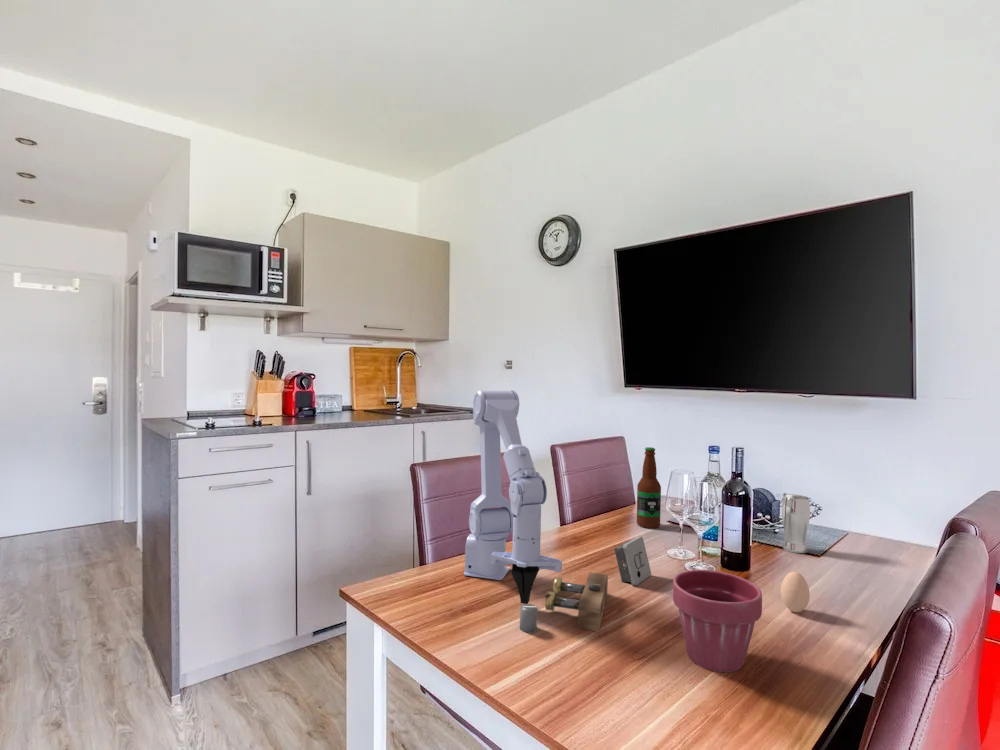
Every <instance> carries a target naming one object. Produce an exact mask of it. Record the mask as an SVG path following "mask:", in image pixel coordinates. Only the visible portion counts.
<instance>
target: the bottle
mask: <svg viewBox="0 0 1000 750" xmlns="http://www.w3.org/2000/svg"><path fill="white" fill-rule="evenodd" d="M644 450H645V452H644V460H643V464H642V473H641V475H642V476H641V478H640V480H639V482H638V483H637V488H636V490H637V491H636V492H637V495H636V524H637V525H638V526H639V527H641V528H643V529H651V530H652V529H657V528H660V526H661V508H662V507H661V505H662V504H661V503H662V486H661V483H660V482H659V480H658V479H657V474H658V473H657V463H656V457H655V455H656V453H655V452H656V448H655V447H645V448H644Z"/></svg>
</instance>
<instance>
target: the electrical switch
mask: <svg viewBox="0 0 1000 750" xmlns="http://www.w3.org/2000/svg"><path fill="white" fill-rule="evenodd" d="M614 554H615V557H616V558H615V559H616V562H617V566H618V570H619V575H620V580H621V582H622V583H631V585H632V586H633V587H634V586H638V585H639V584H640V583H642V582H644V581H645V580H646V579H648V578H649V577H650V576H651V575H652V571H651V566H650V562H649V557H648V554H647V549H646V545H645V541H644V538H643V536H637V537H635V538H634V539H631V540H627V541H625V542H623V543H622V544H620V545H618V546H616V547H615V548H614Z"/></svg>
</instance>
